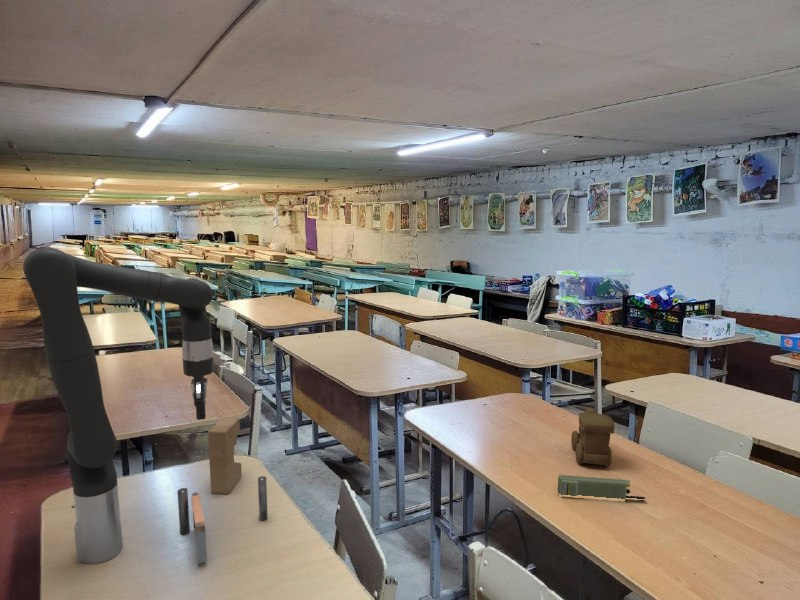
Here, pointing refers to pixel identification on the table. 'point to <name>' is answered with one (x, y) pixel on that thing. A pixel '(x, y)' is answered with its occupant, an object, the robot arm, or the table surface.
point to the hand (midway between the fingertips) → (201, 418)
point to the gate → (199, 528)
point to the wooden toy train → (593, 438)
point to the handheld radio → (594, 487)
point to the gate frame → (185, 508)
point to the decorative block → (223, 455)
